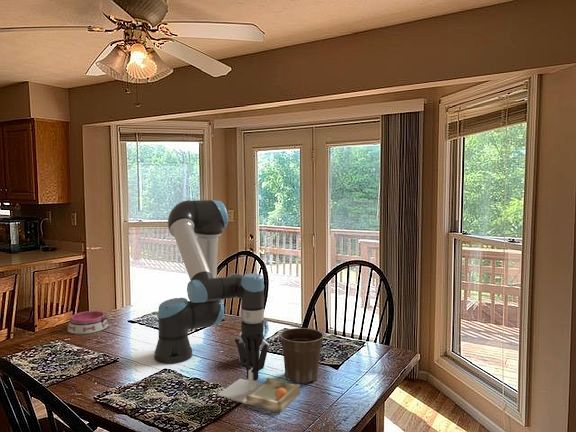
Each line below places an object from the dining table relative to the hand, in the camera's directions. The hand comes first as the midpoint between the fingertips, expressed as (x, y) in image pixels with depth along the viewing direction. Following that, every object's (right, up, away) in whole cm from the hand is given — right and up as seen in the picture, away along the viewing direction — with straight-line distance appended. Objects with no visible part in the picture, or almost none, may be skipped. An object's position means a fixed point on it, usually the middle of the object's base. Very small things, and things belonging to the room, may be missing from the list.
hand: (252, 388), depth 152 cm
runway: (+2, -2, -1) cm, 3 cm away
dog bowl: (-86, +3, +68) cm, 110 cm away
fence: (+7, -2, -4) cm, 8 cm away
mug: (-3, 0, +31) cm, 31 cm away
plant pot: (+17, -1, +14) cm, 22 cm away
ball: (+10, 0, -6) cm, 11 cm away
